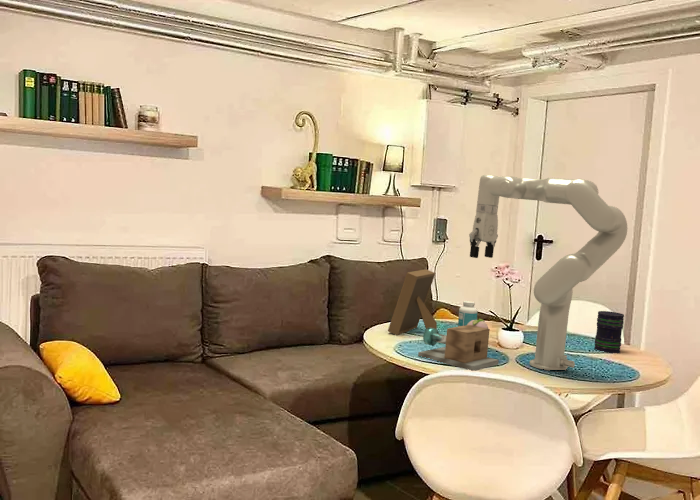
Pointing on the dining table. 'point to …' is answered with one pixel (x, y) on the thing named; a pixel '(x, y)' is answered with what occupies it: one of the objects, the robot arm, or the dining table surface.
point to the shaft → (433, 337)
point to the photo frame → (413, 303)
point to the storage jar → (609, 331)
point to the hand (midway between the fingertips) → (481, 257)
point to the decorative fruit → (478, 323)
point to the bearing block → (464, 348)
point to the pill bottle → (467, 313)
